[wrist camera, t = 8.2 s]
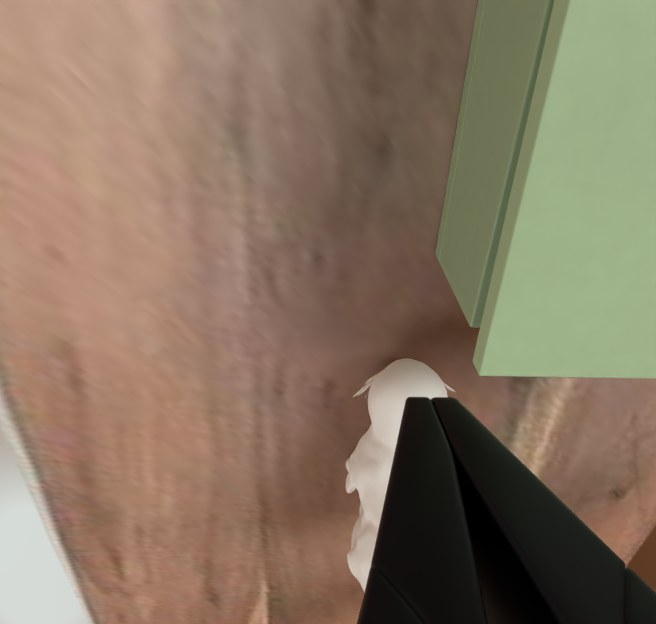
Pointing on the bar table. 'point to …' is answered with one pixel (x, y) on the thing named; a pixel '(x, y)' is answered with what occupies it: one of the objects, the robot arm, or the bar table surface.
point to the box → (489, 143)
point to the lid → (581, 206)
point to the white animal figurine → (382, 450)
